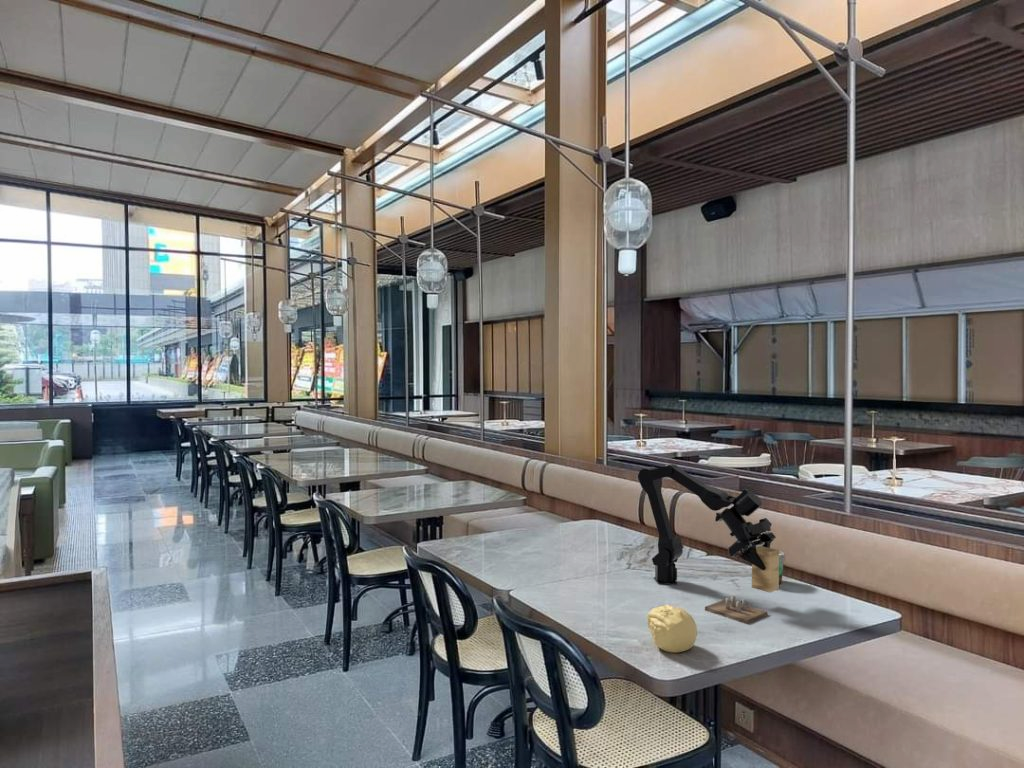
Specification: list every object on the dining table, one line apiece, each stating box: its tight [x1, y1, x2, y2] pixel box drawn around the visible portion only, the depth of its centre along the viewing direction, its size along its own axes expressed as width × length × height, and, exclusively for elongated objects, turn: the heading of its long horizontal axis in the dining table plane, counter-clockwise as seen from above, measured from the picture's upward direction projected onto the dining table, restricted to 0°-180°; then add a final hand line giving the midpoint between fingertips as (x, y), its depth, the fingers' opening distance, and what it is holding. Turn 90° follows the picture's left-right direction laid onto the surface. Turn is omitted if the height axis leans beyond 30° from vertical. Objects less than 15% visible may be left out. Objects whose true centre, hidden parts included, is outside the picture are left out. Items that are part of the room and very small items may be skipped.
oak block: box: [751, 546, 780, 593], centre depth 202 cm, size 6×5×12 cm
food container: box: [779, 550, 786, 586], centre depth 224 cm, size 12×6×10 cm, turn 117°
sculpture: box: [646, 604, 698, 654], centre depth 172 cm, size 12×12×11 cm
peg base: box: [704, 595, 769, 625], centre depth 197 cm, size 14×11×4 cm
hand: (769, 567), depth 201 cm, fingers closed on oak block, 5 cm apart
